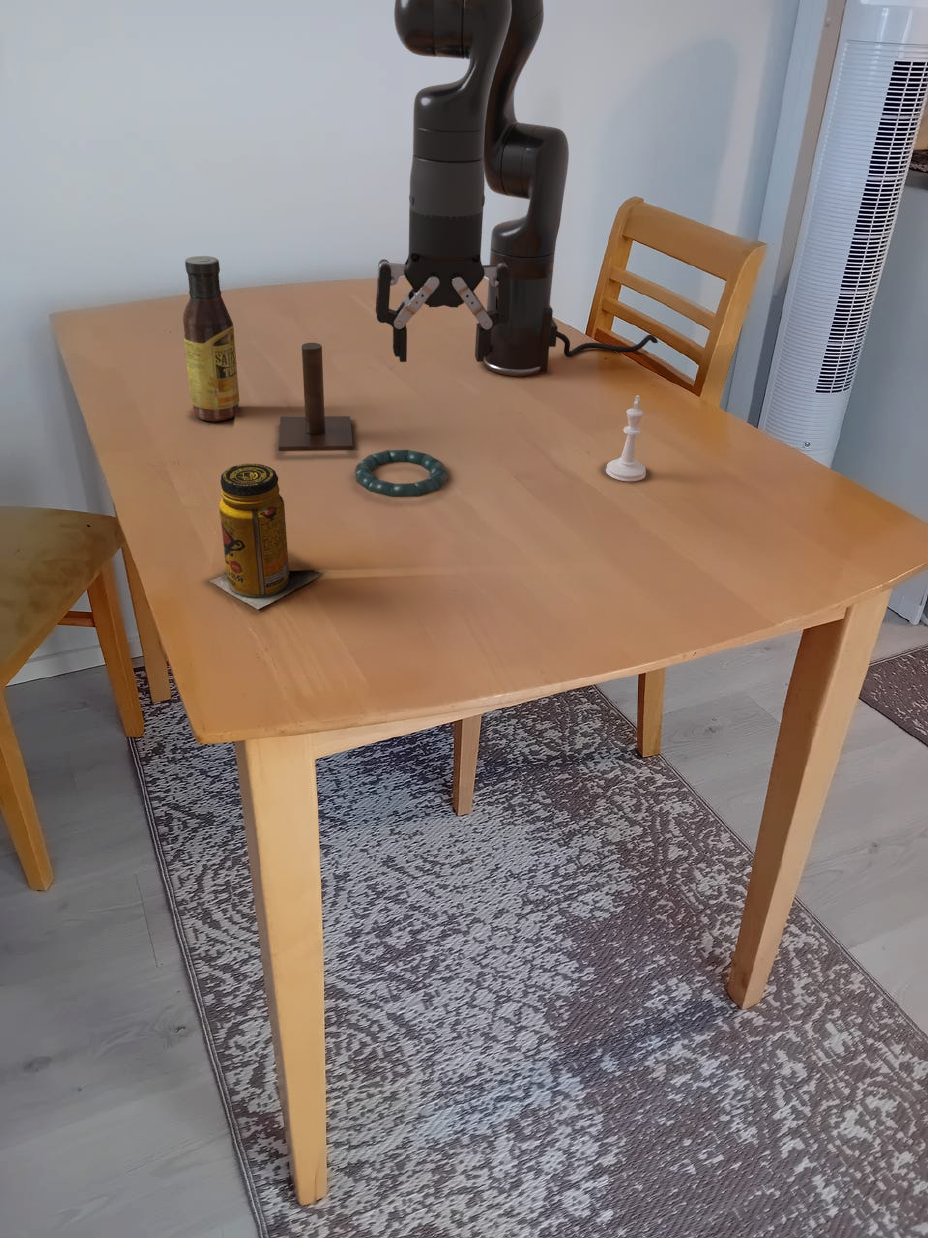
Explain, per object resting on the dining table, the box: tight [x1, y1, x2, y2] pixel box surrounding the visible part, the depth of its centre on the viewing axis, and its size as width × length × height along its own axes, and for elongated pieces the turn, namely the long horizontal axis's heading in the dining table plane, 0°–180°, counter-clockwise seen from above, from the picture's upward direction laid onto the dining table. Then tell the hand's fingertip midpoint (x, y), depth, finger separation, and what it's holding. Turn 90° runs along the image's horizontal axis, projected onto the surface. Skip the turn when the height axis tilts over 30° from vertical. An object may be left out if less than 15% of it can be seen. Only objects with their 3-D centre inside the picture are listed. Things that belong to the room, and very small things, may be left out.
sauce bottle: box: [182, 255, 240, 422], centre depth 124 cm, size 7×6×20 cm
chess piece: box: [605, 394, 647, 482], centre depth 118 cm, size 5×5×10 cm
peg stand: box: [278, 342, 354, 452], centre depth 121 cm, size 9×9×12 cm
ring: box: [354, 449, 449, 498], centre depth 116 cm, size 11×11×2 cm
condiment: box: [209, 463, 323, 610], centre depth 94 cm, size 7×8×12 cm
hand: (440, 359), depth 108 cm, fingers open, 8 cm apart
